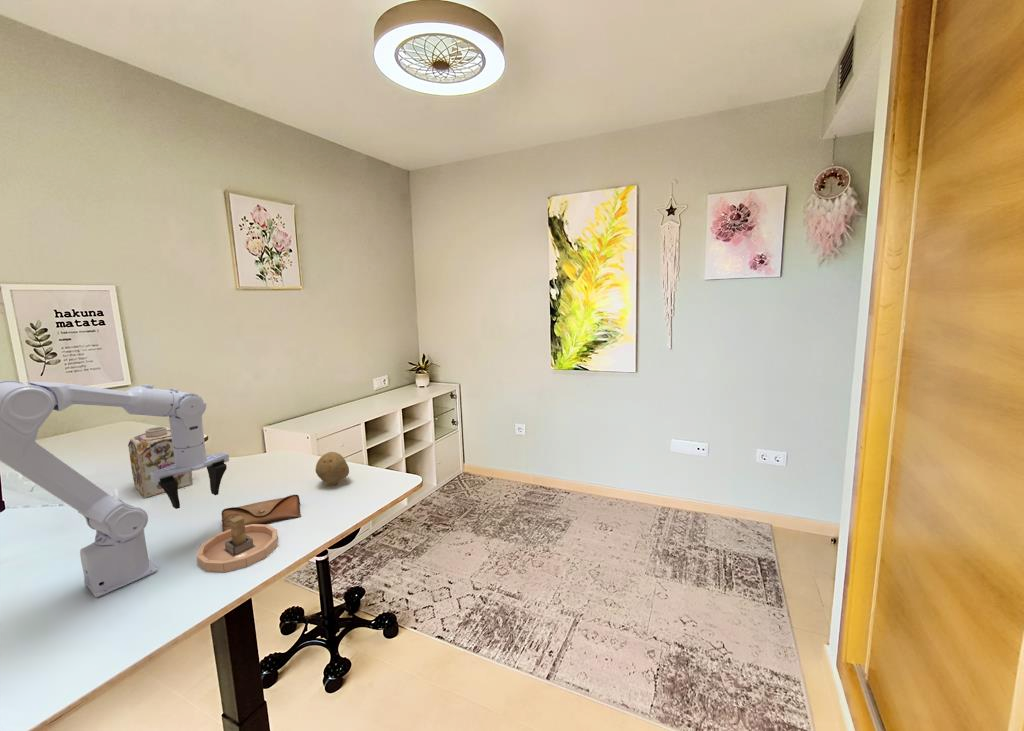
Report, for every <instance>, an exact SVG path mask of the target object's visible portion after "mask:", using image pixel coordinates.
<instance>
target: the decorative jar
mask: <svg viewBox="0 0 1024 731" xmlns="http://www.w3.org/2000/svg"><path fill="white" fill-rule="evenodd" d="M127 447H128V452H129V460H130V468H131V474H132V479H133V480H132V481H133V485H134V488H136V489H137V491H138V492H139V493H140V494H141V495H142V496H143V497H144V498H146V499H147V498H151V497H153V496H157V495H161V494H164V493H166V492H165V491H164V489H163V488H162V487H161V486H160V485H159V484H158V483H153V482H152V481H151V477H150V473H151V472H154V471H157V470H160V469H163V468H165V467H168V466H170V465H173V464H175V459H174V452H173V444H172V437H171V430H170V429H167V427H166V426H154V427H150V428H147V429H145V432H144V433H141V434H138V435H135V436H134V437H132V438H130V439H129V442H128V445H127ZM173 478H175V481H177V482H178V489H182V488H185V487H188V486H192V485H193V471H191V472H187V473H184V474H181V475H177V476H174V477H173Z"/></svg>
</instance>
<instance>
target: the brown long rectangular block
mask: <svg viewBox="0 0 1024 731" xmlns="http://www.w3.org/2000/svg"><path fill="white" fill-rule="evenodd" d="M230 525H231V534H232V542H233V546H237V545H239V544H241V543H244V542H246V532H245V523H244V518H243V517H241V516H238V517H235V518H233V519H230Z"/></svg>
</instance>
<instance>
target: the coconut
mask: <svg viewBox="0 0 1024 731" xmlns="http://www.w3.org/2000/svg"><path fill="white" fill-rule="evenodd" d="M315 473H316V475H317V477H318V478H319V479H320V480H321V481H322V482H323V483H325V484H327V485H330V486H334V485H337V484H338V483H340V481H342V480H344V479H346V478H347V477H348V475H349V474H350V467H349V465H348V463H347V461H346V460H345V458H344V457H343V456H342V454H340V453H338V452H336V451H335V452H334V451H329V452H326V453H324V454H323V455H322V456H321V457H320V458H319V459H318V461H317V462H316V464H315Z"/></svg>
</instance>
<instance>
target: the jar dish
mask: <svg viewBox="0 0 1024 731" xmlns="http://www.w3.org/2000/svg"><path fill="white" fill-rule="evenodd" d="M245 532H246V535H247V536H249V537H250V538H252V539H253V545H255V547H254V548H252V549H249V550H247V551H245V552H243V553H241V554H239V555H237V556H234V557H233V556H231V555H230V554H228V553H227V552H226V551H224V550H223V549H225V543H226V541H229V540H231V539H232V534H231V529H229V530H227V531H224V532H222V531H221V532H220V533H217V534H214V535H213V536H212V537H210V538H209V539H207V540H206V541H205V542H203V544H201V545H200V546H199V549H198V551H197V553H196V561H197V566H199V567H200V568H202V570H203V571H205V572H213V573H227V572H230V571H231V572H232V571H237V570H240V569H243V568H247V567H249V566H251V565H254V564H255V563H257V562H259V561H261V560H263V559H265V558H267V557H268V556H269V555H270V554H271V553H272V552H273V551H274V550H275V549H276V548H278V540H279V536H278V529H276V528H275V527H273V526H271V525H270V524H250V525H245Z"/></svg>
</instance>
